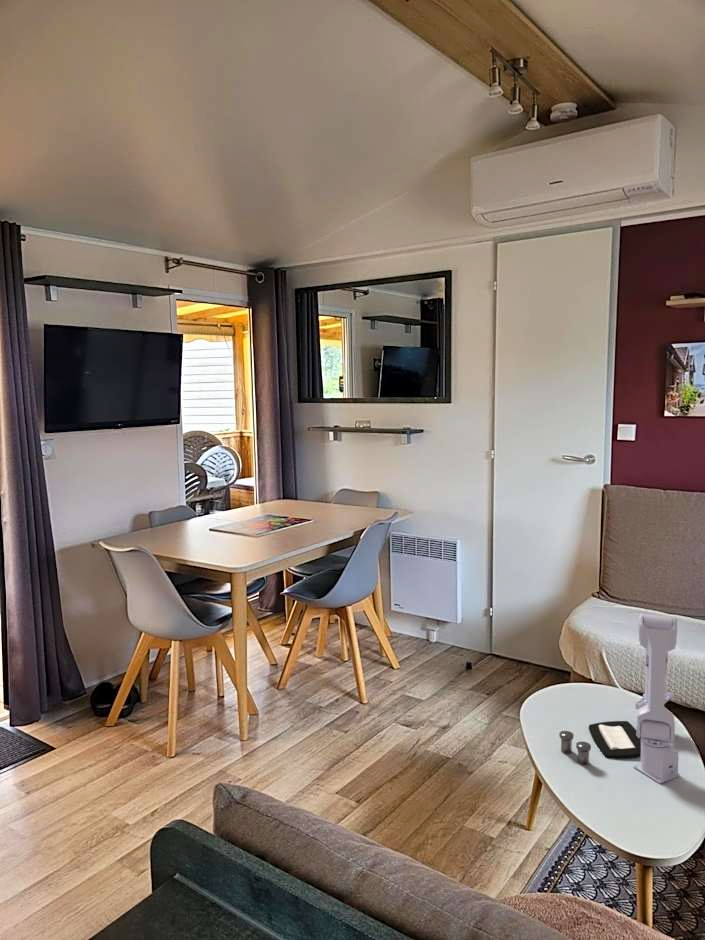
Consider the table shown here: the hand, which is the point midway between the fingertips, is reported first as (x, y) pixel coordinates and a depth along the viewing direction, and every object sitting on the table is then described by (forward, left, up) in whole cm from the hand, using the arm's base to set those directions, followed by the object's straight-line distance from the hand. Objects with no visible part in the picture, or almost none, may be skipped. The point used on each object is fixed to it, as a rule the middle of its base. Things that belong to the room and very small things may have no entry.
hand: (654, 726), depth 222 cm
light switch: (0, +15, -2) cm, 15 cm away
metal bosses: (0, +32, -1) cm, 32 cm away
